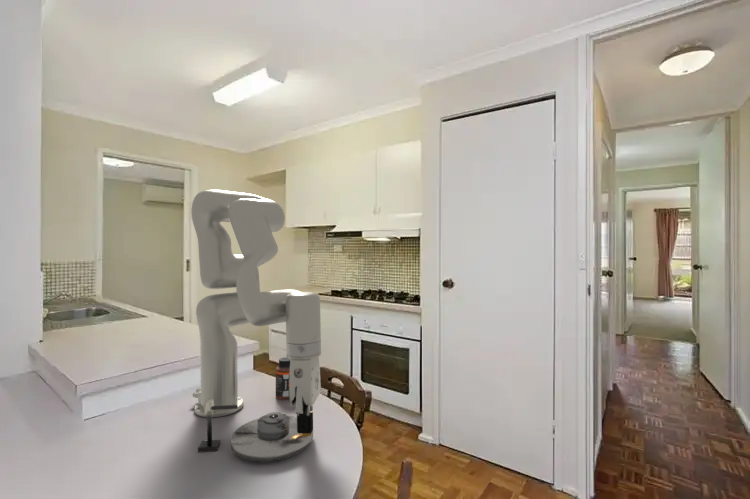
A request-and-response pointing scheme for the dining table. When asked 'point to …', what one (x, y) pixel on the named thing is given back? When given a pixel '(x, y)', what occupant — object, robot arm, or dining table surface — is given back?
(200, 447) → the stand
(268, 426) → the cover
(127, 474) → the dining table surface
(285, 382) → the supplement bottle
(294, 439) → the turntable
